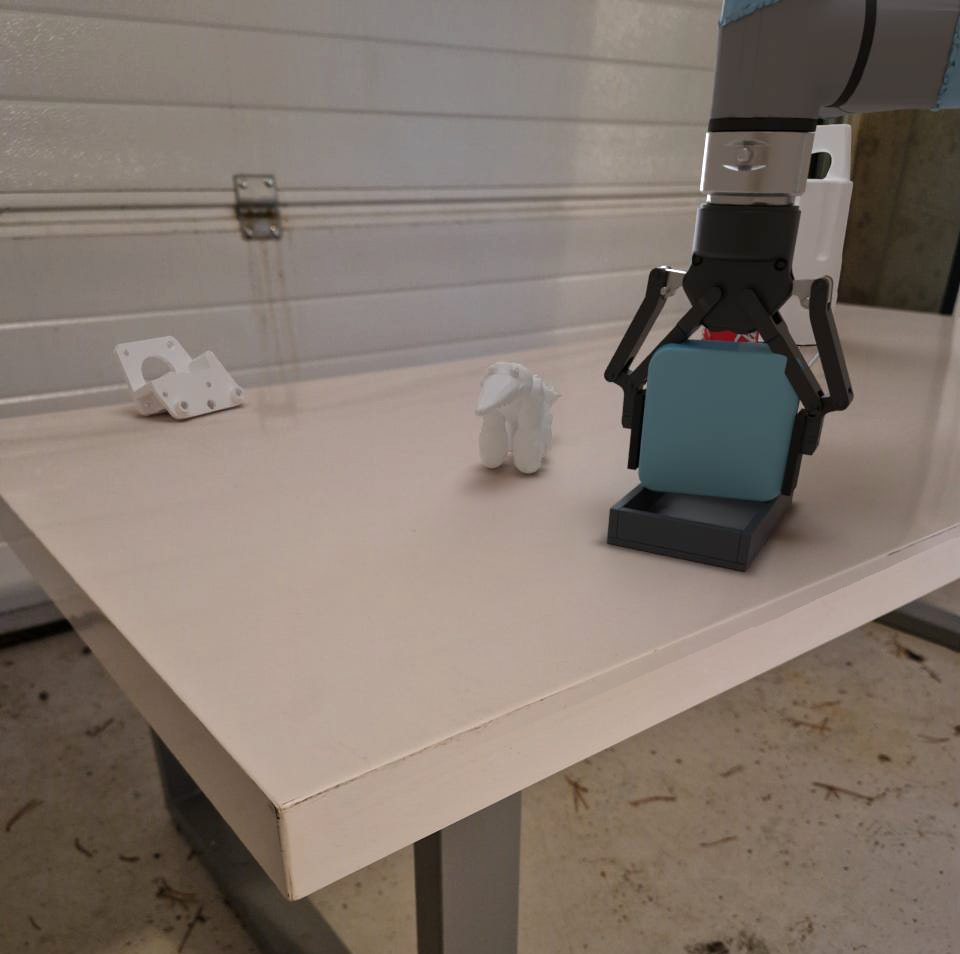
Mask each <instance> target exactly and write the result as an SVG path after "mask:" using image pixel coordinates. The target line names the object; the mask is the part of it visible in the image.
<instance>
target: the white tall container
mask: <svg viewBox="0 0 960 954" xmlns="http://www.w3.org/2000/svg"><path fill="white" fill-rule="evenodd" d="M809 133H815V136H814V142H813V148H812V154H816V153H828V154H829V155H830V157H831V164H830V167H829V169H828V172H827V174H826V176H825V177H824V178H822V179H820V178H807V183H806V189H805V192H804V193H803V194H802V195H801V196H796V197H795V202H794V205H798V206H799V210H801V216H800V222H799V228H798V234H797V240H796V245H795V251H794V257H793V263H792V271H793V275H794V278H795V279H817V278H820V277H821V276H824V275H828V276H830V277H832V279H833V293H832V303H831V309H832V313H833V317H834V318H835V313H836V306H837V301H838V294H839V293H838V289H839V283H840V277H841V271H842V265H843V264H842V263H843V250H844V245H845V238H846V231H847V225H848V219H849V212H850V206H851V200H852V194H853V189H854V188H853V187H854V181H851V162H852V161H851V160H852V159H851V158H852V152H851V151H852V125H850V124H849V123H841V124H840V123H837V124H823V125H822V124H819V125H818V124H817V126H816V132H809ZM779 312H780V314H781V316H782V317H783V319H784V321H785V323H786V325H787V327H788V331H789V333H790V335H791V336H792V338H793V340H794V341H795V343H796V345H797V346H798V345H800V346H806V345H816V341H815V338H814V334H813V330H812V327H811V323H810V318H809V309H805V308H803V307H802V306H801V304H800V299H799V297H798V296H796V295H792V296H791V297H790V298H789V299H788V300H787V302H786V303H785V304H784V305H783V306H782V307H781V308H780V309H779ZM758 342H759V343H762V342H763V343H765V342H764V340H763V339H762V337H761V335H760V334H759V339H758Z"/></svg>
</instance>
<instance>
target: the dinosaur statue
mask: <svg viewBox="0 0 960 954" xmlns="http://www.w3.org/2000/svg"><path fill="white" fill-rule="evenodd" d="M480 387H481V389H480V393H479V397H478V402H477V405H476V408H475V410H474V415H475V416H476V417H477V418H480V417H482V424H481V427H480V433H479V436H478V448H479V453H478V454H479V459H480V461H481V462H482V463H483V465H484V466H485V467H487V468H488V469H496V468H499V467H500V466H502V464H504V462H505V460H506V458H507V456H508V454H509V453H512V459H513V464H514V466H515V467H516V468H517V470H519V471H520V472H522V473H523V474H532V473H535V472H537V471H538V470H539V469H540V466H541V465H542V462H543V457H544V456H547V455H548V454H550V452H551V451H552V449H553V442H552V438H553V431H552V424H553V420H554V419H553V413H552V412H551V408H552V406H554V404H556V403H557V402H558V401H559V399H560V398H561V397H562V396H563V394H561V393H559V392H557V391H555V389H556V386H555V385H551V386H550V385H549V384H547V383H546V381H543V378H542V377H539V375H538V374H532V372H531V371H530V370H529V369H528V368H527V367H525V366H523V365H522V364H520V363H516V362H506V361H497V362H493V363H491V364H490V365H489V366H488V367H487V368H485V370H484V372H483V375H482V377H481V379H480Z"/></svg>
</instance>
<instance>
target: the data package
mask: <svg viewBox="0 0 960 954" xmlns="http://www.w3.org/2000/svg"><path fill="white" fill-rule="evenodd" d="M796 359H797V361H798V362H799V364H800V366H801V367H802V369H803V370H804V367H803V364H802V362H801V361H800V359H798V358H796ZM786 362H787V357H785V356H783V355H780V354H775V353H772V351H771V349H770V347H769V346H768V344H767V343H765V342H763V343H762V342H758V343H748V342H730V341H711V340H701V339H690V338H689V339H687V340H685V341H684V342H682V343H680V344H675V343H670V344H666V345H663V346H661V347H660V348H659V349H658V350H657V351H656V352H655V353H654V355H653V357H652V359H651V361H650V363H649V368H648V378H647V382H646V383H647V384H646V388H645V389H646V398H645V408H644V418H643V428H642V439H641V449H640V459H639V468H637V469H638V471H637V474H638V478H639V479H638V480H639V482H640V483H642V484H643V485H644V486H645V487H646V488H647V489H649V490H651V491H655V492H665V493H675V494H686V495H696V496H706V497H716V498H727V499H737V500H747V501H757V502H766V501H769V500H772V499H774V498H775V497H777V496H778V495H779V494H780V493H781V489H782V484H783V479H784V474H785V468H786V463H787V458H788V452H789V447H790V442H791V436H792V431H793V426H794V421H795V416H796V414H797V413H798V412H799V409H800V403H801V401H800V399H799V397H798V396H797V394H796V392H795V390H794V389H793V387H792V385H791V384H790V382H789V380H788V378H787V377H786V375H785V373H784V372H785V367H786Z"/></svg>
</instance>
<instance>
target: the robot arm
mask: <svg viewBox="0 0 960 954" xmlns="http://www.w3.org/2000/svg"><path fill="white" fill-rule="evenodd" d="M719 15H720V16H719V18H718V21H717V26H716V28H717V31H718V32H717V42H716V52H715V61H714V71H713V80H712V81H713V82H712V89H711V90H712V91H711V101H710V109H709V110H710V111H709V120H708V126H707V132H706V136H705V144H704V150H703V151H704V153H703V160H702V171H701V178H700V179H701V180H700V188H699V191H700V192H701V194H702V195H707V197H706V202H702V203H701V204H700V207H697V208H696V209H697V210H696V218H695V227H694V235H693V241H692V242H693V243H692V249H691V260H690V263H689V267H688V268H687V270H686V271H683V270H677V269H673V268H672V267H671V266H670V265H667V264H666V265H661V266H657V267H654V268H652V269H651V270H650V271H649V274H648V278H647V284H646V289H645V295H644V297H643V300H642V301H641V303H640V305H639V307H638V309H637V310H636V313H635V315H634V316H633V318H632V320H631V322H630V323H629V325H628V327H627V329H626V331H625V334H624V335H623V337H622V338H621V341H620V342H619V345H618V346H617V348H616V350H615V351H614V353H613V355H612V357H611V359H610V361H609V363H608V364H607V366H606V369H604V372H603V379H604V380H605V381H606V382H608V383H613V384H615V385H617V386H618V387H620V388H621V389H622V392H623V399H622V401H623V402H622V410H621V411H622V412H621V421H620V422H621V425H622V429H627V430H628V429H629V430H630V436H629V447H628V456H627V457H628V458H627V467H626V469H627V470H631V471H636V470H637V469H639V459H640V449H641V439H642V428H643V418H644V408H645V398H646V388H644V386H645V385H647V378H648V368H649V363H650V361H651V359H652V357H653V355H654V353H655V352H656V351H657V350H658V349H659V348H660V347H661V346H663V345H666V344H670V343H675V344H680V343H682V342H684V341H685V340H687V339H690V338H691V337H692V336H693V335H694V334H695V333H696V332H697V331H698V330H699V329H700V328H701V327H703V326H704V327H705V328H707V329H709V330H708V331H710V332H722V331H731V332H734V333H736V334H742V335H748V334H750V333H754V332H756V331H758V332H759V334H760V335H761V337H762V339H763V340H764V342H763V343H766V344H768V346H769V347H770V349H771V351H772V353H775V354H780V355H783V356H785V357H787V362H786V367H785V372H784V373H785V375H786V377H787V378H788V380H789V382H790V384H791V385H792V387H793V389H794V390H795V392H796V394H797V396H798V397H799V399H800V403H801V404H802V406H803V407H801V409H800V410H798V413H797V414H796V416H795V421H794V426H793V431H792V436H791V442H790V447H789V452H788V458H787V463H786V468H785V474H784V479H783V484H782V489H781V495H785V496H790V495H791V494H792V493H793V491H794V492H795V490H796V489H797V486H798V481H799V475H800V471H801V466H802V461H803V456H804V455H805V456H810V457H811V456H813V454H814V453H815V452H816V450H817V449H818V447H819V445H820V441H821V436H822V431H823V427H824V422H825V417H826V415H827V414H829V413H833V412H842V411H845V410H847V409H848V408H849V406H850V405H851V403H852V402H853V401H854V398H855V393H854V391H853V385H852V383H851V378H850V375H849V371H848V368H847V363H846V360H845V356H844V352H843V348H842V344H841V340H840V336H839V333H838V329H837V325H836V321H835V316H834V317H833V313H832V309H831V303H832V293H833V279H832V277H830V276H828V275H824V276H821V277H820V278H817V279H795V278H794V275H793V271H792V263H793V257H794V251H795V245H796V240H797V234H798V228H799V222H800V216H801V210H799V206H798V205H794V202H795V197H796V196H801V195H802V194H803V193H804V192H805V189H806V183H807V179H808V177H809V171H810V165H811V158H812V154H813V153H812V148H813V142H814V136H815V133H809V132H816V126H817V125H818V119H821V120H827V121H828V120H833V119H835V118H839V117H842V116H850V115H856V114H857V115H858V114H869V113H877V112H878V113H879V112H888V111H895V110H930V112H939V111H940V110H952V109H954V110H956V109H960V0H722V4H721V10H720V14H719ZM680 287H682V290H683V291H684V294H685V295H686V298H687V300H688V301H689V303H690V306H691V307H690V308H689V309H688V311H687V312H685V314H684V315H683V316H682V317H681V318H680V319H679V320H678V321H677V323H676V324H675V326H674V327H673V328H672V329H671V330H670V331H668V333H667V334H666V335H665V336H664V337H663V339H662V340H661V341H660V342H659V343H658V344H657V345H656V346H655V347H654V348H653V349H652V350H651V352H650V353H649V354H648V355H646V357H645V358H644V359H643V360H642V361H641V362H640V363H639V365H637V367H635V369H634V370H631V369H630V368H631V366H632V364H633V363H634V361H635V359H636V358H637V355H638V353H639V351H640V350H641V348H642V347H643V345H644V343H645V341H646V339H647V337H648V336H649V333H650V332H651V330H652V328H653V327H654V325H655V324H656V321H657V319H658V318H659V316H660V315H661V312H662V311H663V309H664V307H665V305H666V303H667V300H668V298H671V297H673V296H675V295H676V294H677V291H678V289H679V288H680ZM792 295H796V296H798V297H799V299H800V304H801V306H802V307H803V308H805V309H809V318H810V323H811V327H812V330H813V334H814V338H815V341H816V344H815V345H816V349H817V353H819V356H820V357H819V360H820V363H821V367H822V371H823V375H824V378H825V382H826V386H827V390H828V393H825V392H824V390H823V388H822V387H821V384H820V383H819V382H818V380H817V378H816V376H815V374H814V372H813V371H812V369H811V368H810V367H809V366H808V364H809V363H807V361H806V358H805V357H804V356H803V354H802V352H801V350H800V348H799V346H798V344H797V345H796V343H795V341H794V340H793V338H792V336H791V335H790V333H789V331H788V327H787V325H786V323H785V321H784V319H783V317H782V316H781V314H780V312H779V309H780V308H781V307H782V306H783V305H784V304H785V303H786V302H787V300H788V299H789V298H790V297H791V296H792ZM796 358H798V359H800V361H801V362H802V364H803V367H804V370H803V369H802V367H801V366H800V364H799V362H798V361H797V359H796ZM793 494H794V493H793Z"/></svg>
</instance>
